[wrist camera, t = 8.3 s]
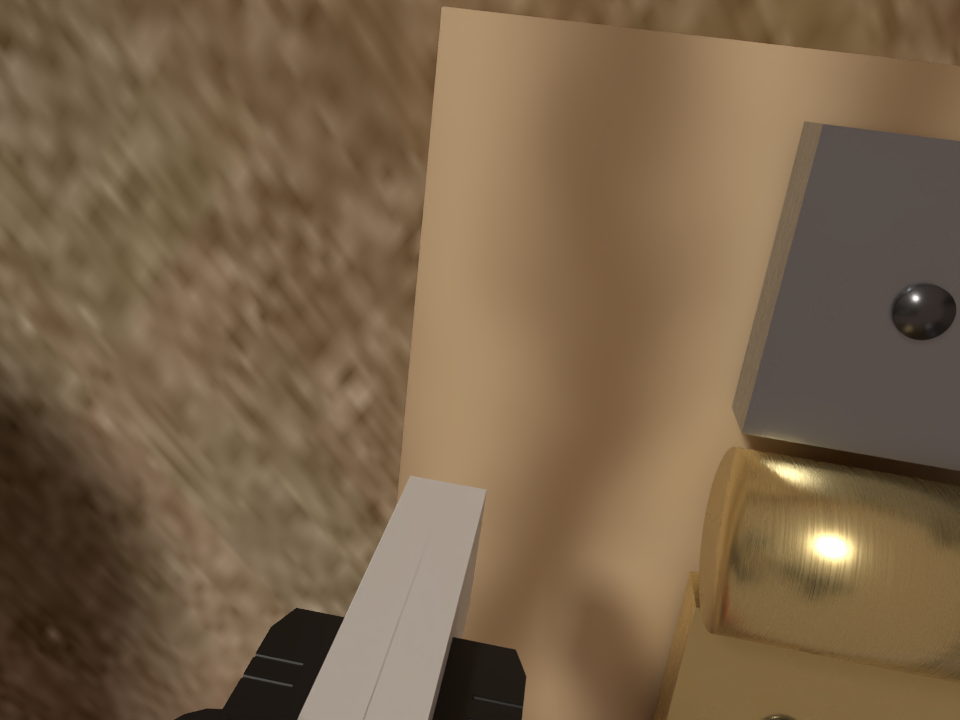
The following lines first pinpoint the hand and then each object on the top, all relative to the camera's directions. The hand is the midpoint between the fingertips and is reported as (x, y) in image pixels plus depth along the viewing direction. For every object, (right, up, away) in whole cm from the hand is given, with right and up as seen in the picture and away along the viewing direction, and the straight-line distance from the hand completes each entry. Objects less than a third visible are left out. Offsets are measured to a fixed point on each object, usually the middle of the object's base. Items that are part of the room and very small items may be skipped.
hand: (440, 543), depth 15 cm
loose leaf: (+12, -4, +6) cm, 14 cm away
